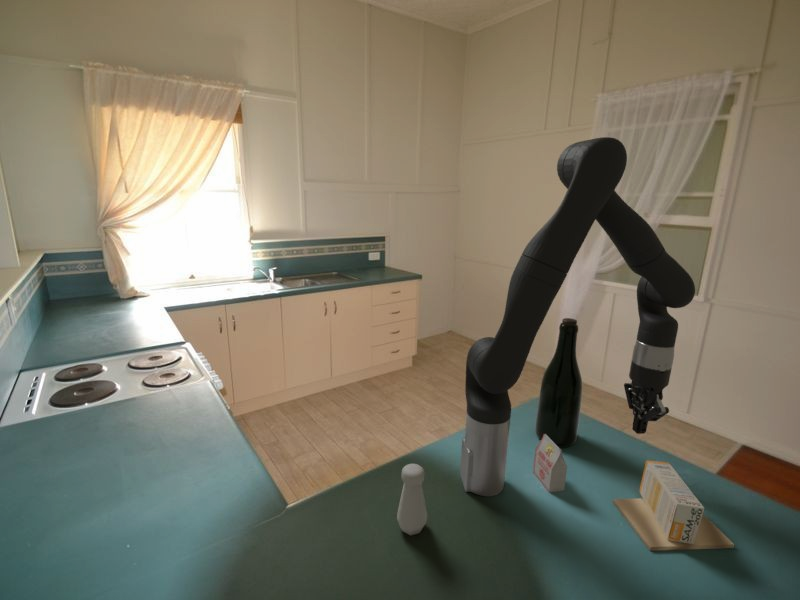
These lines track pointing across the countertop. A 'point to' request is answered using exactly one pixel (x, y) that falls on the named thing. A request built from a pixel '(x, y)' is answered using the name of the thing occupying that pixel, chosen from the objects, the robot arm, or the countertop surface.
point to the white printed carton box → (550, 465)
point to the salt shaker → (412, 500)
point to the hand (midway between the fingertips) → (638, 431)
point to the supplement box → (671, 502)
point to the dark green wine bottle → (561, 390)
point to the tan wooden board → (654, 536)
